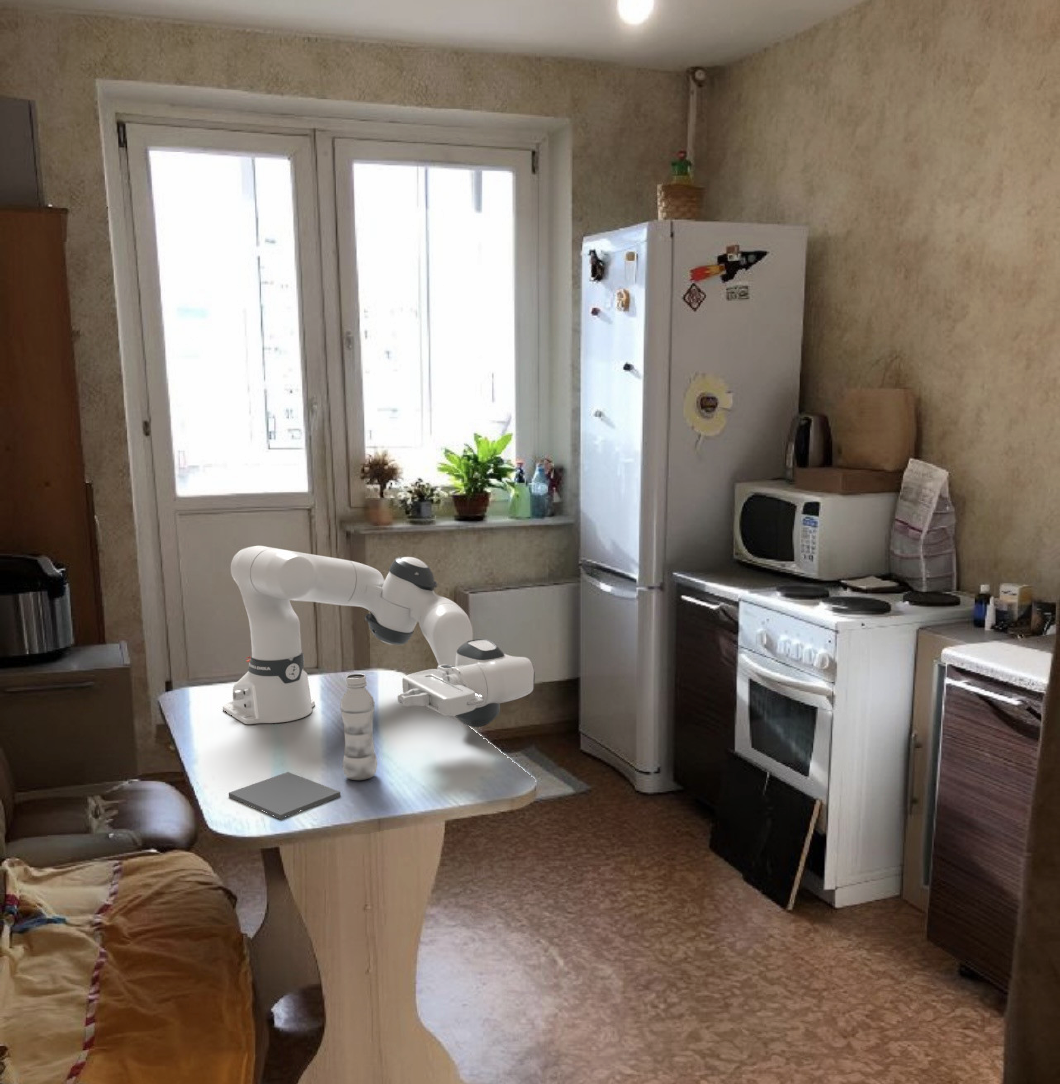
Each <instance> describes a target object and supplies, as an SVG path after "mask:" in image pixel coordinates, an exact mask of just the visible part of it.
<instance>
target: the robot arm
mask: <svg viewBox="0 0 1060 1084" xmlns="http://www.w3.org/2000/svg"><path fill="white" fill-rule="evenodd" d="M230 574H231V578H232V579H233V580H234V582H235V583H236V585H237V587H238V589H239V591H240V595H241V598H242V601H243V605H244V607H245V610H246V614H247V618H248V623H249V632H250V641H251V645H250V646H251V656H248V657H247V656H246V659H248V660H246V663H248V668H247V672H246V673H245V674H244V675H243V676H242V677H241V678H240V679H238V681H237V682H235V684H234V685H233V687H232V701H230V702H227V703H226V704H224V705H222V711H223V710H224V712H225V711H226V712H227V713H226V712H225V713H226V714H228V715H229V716H231V715H232V716H231V717H233V718H234V719H236V720H238V721H239V722H241V723H243V724H244V725H254V724H273V723H274V724H277V723H285V722H286V723H287V722H292V721H296V720H299V719H303V718H304V717H305V718H306V717H307V716H308V715H309V716H310V714H311V713H312V712H313V707H315V705H316V704H315V700H314V699H312V697H311V690H310V684H309V677H308V672H306V671H305V670H304V668H305V657H304V652H303V651H302V639H301V622H300V619H299V616H298V615H297V613H296V612H295V610H294V608H293V606H292V604H291V601H296V602H312V603H313V602H314V603H319V604H320V603H321V604H328V605H337V606H346V607H348V606H349V607H357V608H358V607H360V608H363V609H366V610H368V611H369V612H370V613H367V614H365V615H364V619H365V621H366V622H367V623H368V628H369V629H370V631H371V632H372V635H374V637H375V638H376V639H378V640H380V641H381V642H383V643H385V644H388V645H394V646H401V645H405V644H407V643H408V642H409V640H410V639H411V637H412V636H413V635H414V629H415V627H416V626H417V624H418V626H419V628H420V631H421V632H422V635H423V636H424V638H425V640H426V641H427V642H428V645H429V646H430V648H431V650H432V653H433V655H434V656H435V659H436V662H437V664H438V665H437V667H436V668H430V669H425V670H420V671H417V672H412V673H409V674H407V675H405V676H404V677H402V693H399V694H398V695H397V702H398V703H399V704H401V705H403V706H404V707H410V706H422V707H423V706H426V707H428V708H429V709H431V710H433V711H435V712H437V713H439V714H440V715H442V716H444V717H455V718H456V719H458V721H460V722H461V723H463V725H466V726H468V727H471V728H481V727H485V726H487V725H489V724H490V723H492V721H494V720H495V719H496V718H497V717H498V716H499V714H500V712H501V710H500V709H501V708H500V707H501V706H500V705H501V704H502V703H507V702H511V701H514V700H518V699H520V698H523V697H526V696H527V695H529V694H531V693H532V692H533V691H534V688H535V679H536V678H535V677H536V675H535V674H536V672H535V668H534V665H533V663H532V661H531V659H529V658H528V657H527V656H514V655H509V654H506V653H504V652H503V651H502V650H501V649H500V648H499V647H498V646H497V645H496V643H494V641H492V640H489V639H486V638H479V639H478V638H477V639H473V635H474V634H473V633H474V632H473V626H472V623H471V620H470V618H469V615H468V614H467V613H466V612H465V610H464V609H463V608H462V607H461V606H460V605H458V603H456V602H455V601H453V600H451V599H450V598H447V597H444V596H442V595H439V594H437V593H436V592H435V589H436V588H438V586H439V585H438V582H437V581H435V576H434V573H433V571H432V569H431V568H430V567H429V565H428V564H427V563H425V562H424V561H422V559H419V558H417V557H413V556H399V557H395V559H394V560H393V562H391V565H390V566H389V568H388V574H387V575H386V577H385V578H384V576H383V574H382V573H381V571H379V570H378V569H376V568H374V567H372V566H370V565H368V564H367V565H366V564H365V563H360V562H358V561H353V560H348V559H343V558H337V557H330V556H324V555H318V554H313V553H312V554H311V553H305V552H301V551H294V550H289V549H282V548H276V547H271V546H265V545H255V546H254V545H253V546H248V547H244V548H242V549H240V550H239V551H238V552H236V553H235V554H234V556H233V557H232V559H231V563H230Z"/></svg>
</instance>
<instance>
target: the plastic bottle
mask: <svg viewBox="0 0 1060 1084" xmlns="http://www.w3.org/2000/svg"><path fill="white" fill-rule="evenodd" d="M345 678H346V683H345V687H346V688H347V689H346V691H345V693H344V694H343V696H342V698H341V699H340V705H339V706H340V712H341V717H342V718H341V719H342V723H343V731H344V751H343V753H344V755H343V759H342V769H343V774H344V775H345V776H346V778H348V779H349V780H353V781H364V780H368V779H371V778H372V777H374V776H375V775H376V773H377V769H378V768H377V767H378V760H377V755H376V752H375V742H374V738H373V737H374V733H373V729H374V716H375V715H374V714H375V712H374V711H375V700H374V697H373V696H372V694H371V693H370V691H369V690H368V689H367V688H366V687H367V686H368V685H367V684H368V683H367V677H366V675H365V674H363V673H351V674H348V675H346V677H345Z"/></svg>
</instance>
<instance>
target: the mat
mask: <svg viewBox="0 0 1060 1084" xmlns="http://www.w3.org/2000/svg"><path fill="white" fill-rule="evenodd" d="M341 795H342V794H341V791H339V790H336V789H334V788H332V787H329V786H326V785H323V784H321V783H318V782H315V781H313V780H310V779H308V778H305V777H303V776H300V775H298V774H295V773H291V772H289V771H287V772H284V773H281V774H278V775H276V776H273V777H270V778H266V779H264V780H261V781H258V782H255V783H252V784H249V785H246V786H244V787H241V788H238V789H236V790H233V791H229V792H228V798H230V797H231V798H230V799H233V800H235V801H237V800H239V801H240V802H239V801H238V802H239V803H242V802H243V803H242V804H244V803H245V805H246V804H247V806H249V805H250V806H249V807H251V806H252V807H251V808H253V807H255V808H257V809H256V810H258V809H259V810H258V811H260V810H263V811H265V812H267V813H268V815H269V814H270V816H271V815H274V816H275V817H274V816H273V817H274V818H276V817H278V818H279V819H278V818H277V819H278V820H283V819H285V818H286V817H285V816H288V815H291V816H293V815H296V814H298V813H300V812H299V811H300V810H303V811H306V810H308V809H311V808H313V807H316V806H318V805H322V804H323V803H326V802H329V801H331V800H334V799H337V798H339V797H340V796H341ZM255 808H254V809H255ZM305 809H306V810H305ZM265 812H264V813H265ZM297 812H298V813H297ZM267 813H266V814H267ZM295 813H296V814H295ZM292 814H293V815H292ZM284 817H285V818H284ZM288 817H289V816H288ZM282 818H283V819H282Z"/></svg>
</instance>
